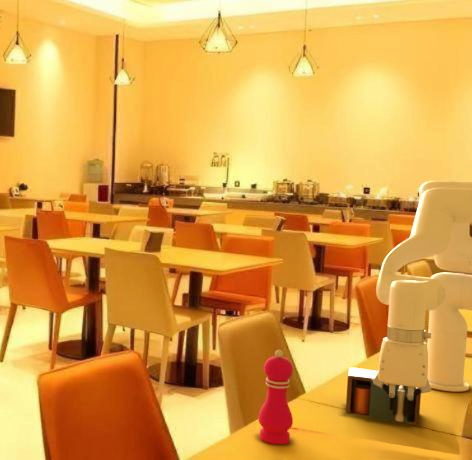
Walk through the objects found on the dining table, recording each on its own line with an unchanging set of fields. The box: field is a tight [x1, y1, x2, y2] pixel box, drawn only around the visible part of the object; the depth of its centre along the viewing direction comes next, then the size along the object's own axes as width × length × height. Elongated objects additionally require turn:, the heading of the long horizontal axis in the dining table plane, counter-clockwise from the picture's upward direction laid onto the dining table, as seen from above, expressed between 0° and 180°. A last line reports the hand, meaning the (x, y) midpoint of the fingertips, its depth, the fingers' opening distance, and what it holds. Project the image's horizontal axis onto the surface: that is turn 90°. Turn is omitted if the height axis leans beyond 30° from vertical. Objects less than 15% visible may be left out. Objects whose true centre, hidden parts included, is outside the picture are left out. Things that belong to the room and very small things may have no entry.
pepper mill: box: [257, 349, 294, 445], centre depth 165 cm, size 7×7×20 cm
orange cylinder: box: [353, 385, 371, 414], centre depth 184 cm, size 4×4×6 cm
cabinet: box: [345, 367, 422, 424], centre depth 183 cm, size 8×16×10 cm, turn 65°
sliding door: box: [368, 379, 408, 424], centre depth 176 cm, size 7×8×10 cm
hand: (399, 413), depth 173 cm, fingers closed on sliding door
